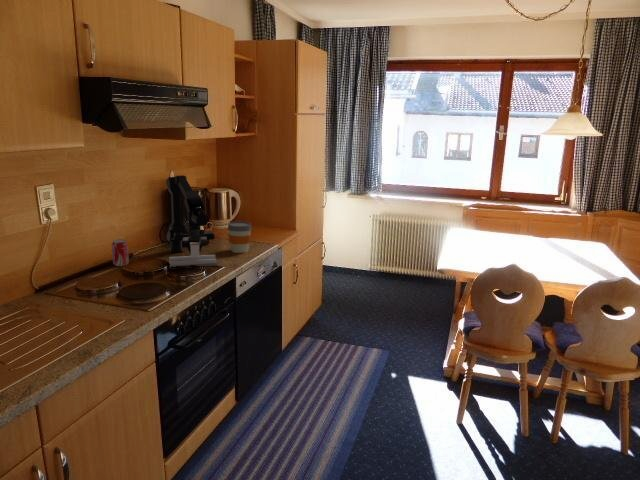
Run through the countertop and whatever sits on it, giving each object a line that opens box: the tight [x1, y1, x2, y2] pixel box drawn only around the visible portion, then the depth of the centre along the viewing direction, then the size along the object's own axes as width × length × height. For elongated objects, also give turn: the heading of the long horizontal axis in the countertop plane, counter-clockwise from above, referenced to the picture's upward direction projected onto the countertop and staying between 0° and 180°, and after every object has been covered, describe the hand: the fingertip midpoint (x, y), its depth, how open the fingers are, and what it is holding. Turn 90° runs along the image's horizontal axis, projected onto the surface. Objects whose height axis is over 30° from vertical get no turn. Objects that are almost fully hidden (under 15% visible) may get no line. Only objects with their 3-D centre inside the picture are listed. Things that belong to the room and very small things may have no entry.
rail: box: [168, 254, 218, 269], centre depth 230 cm, size 10×22×3 cm, turn 108°
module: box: [189, 241, 201, 257], centre depth 229 cm, size 5×4×6 cm
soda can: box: [111, 238, 129, 267], centre depth 223 cm, size 7×7×12 cm
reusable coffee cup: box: [227, 221, 252, 254], centre depth 255 cm, size 13×13×15 cm
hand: (194, 253), depth 230 cm, fingers closed on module, 4 cm apart
